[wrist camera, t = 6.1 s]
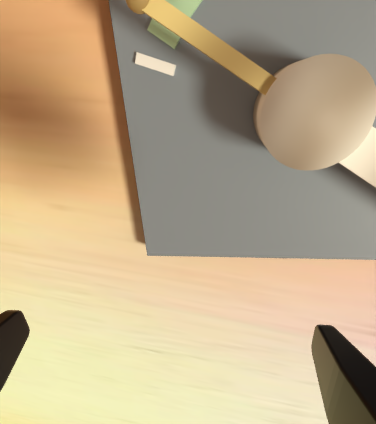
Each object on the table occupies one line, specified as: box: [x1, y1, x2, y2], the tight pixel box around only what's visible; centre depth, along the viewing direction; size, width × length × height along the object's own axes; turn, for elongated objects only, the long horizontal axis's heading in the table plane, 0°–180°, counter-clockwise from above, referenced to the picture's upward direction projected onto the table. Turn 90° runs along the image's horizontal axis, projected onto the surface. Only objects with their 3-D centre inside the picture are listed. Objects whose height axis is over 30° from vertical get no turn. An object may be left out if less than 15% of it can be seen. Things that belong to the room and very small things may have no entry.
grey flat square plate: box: [109, 0, 376, 260], centre depth 14 cm, size 18×18×1 cm
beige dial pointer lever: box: [126, 0, 376, 188], centre depth 12 cm, size 19×4×3 cm, turn 59°
